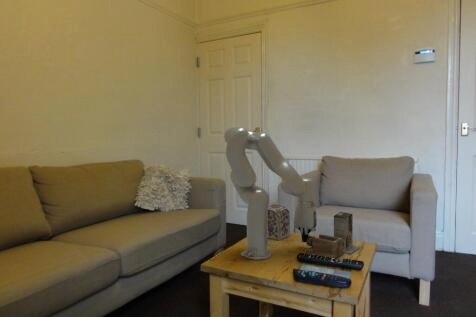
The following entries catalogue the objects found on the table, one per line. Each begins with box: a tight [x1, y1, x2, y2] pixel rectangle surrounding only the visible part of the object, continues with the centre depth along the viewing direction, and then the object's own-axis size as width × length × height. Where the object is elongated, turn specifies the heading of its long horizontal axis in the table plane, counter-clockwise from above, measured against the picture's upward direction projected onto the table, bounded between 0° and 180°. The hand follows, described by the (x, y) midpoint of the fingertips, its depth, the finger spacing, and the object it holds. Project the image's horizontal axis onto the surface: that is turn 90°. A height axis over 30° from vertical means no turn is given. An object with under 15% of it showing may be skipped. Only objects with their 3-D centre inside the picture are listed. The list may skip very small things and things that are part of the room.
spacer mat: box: [343, 244, 361, 255], centre depth 168 cm, size 12×12×1 cm
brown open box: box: [305, 233, 344, 259], centre depth 161 cm, size 10×14×8 cm
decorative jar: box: [268, 202, 291, 241], centre depth 189 cm, size 12×12×18 cm
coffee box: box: [333, 211, 354, 251], centre depth 168 cm, size 9×6×16 cm
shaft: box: [306, 235, 315, 248], centre depth 162 cm, size 5×14×5 cm, turn 50°
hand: (305, 241), depth 168 cm, fingers closed
